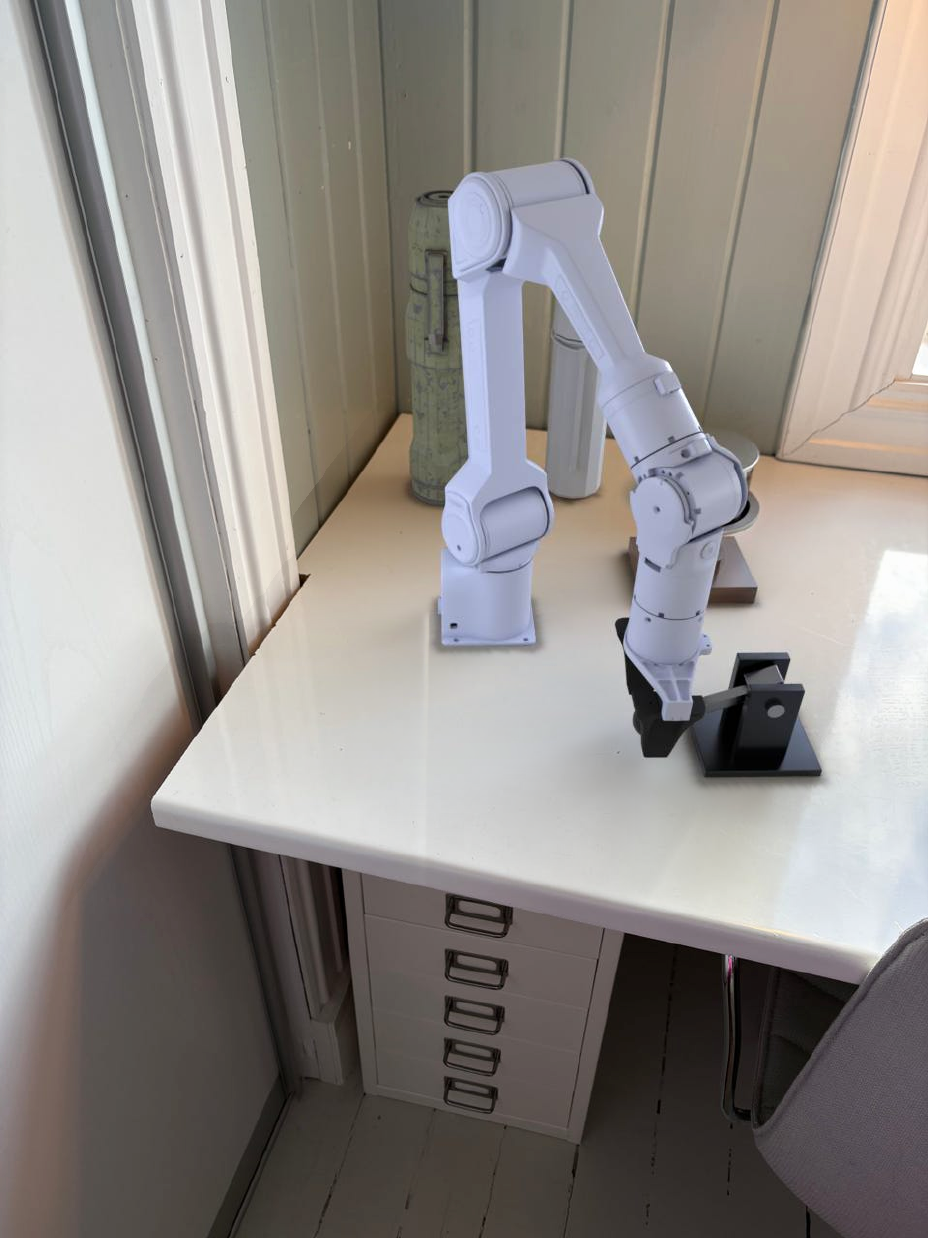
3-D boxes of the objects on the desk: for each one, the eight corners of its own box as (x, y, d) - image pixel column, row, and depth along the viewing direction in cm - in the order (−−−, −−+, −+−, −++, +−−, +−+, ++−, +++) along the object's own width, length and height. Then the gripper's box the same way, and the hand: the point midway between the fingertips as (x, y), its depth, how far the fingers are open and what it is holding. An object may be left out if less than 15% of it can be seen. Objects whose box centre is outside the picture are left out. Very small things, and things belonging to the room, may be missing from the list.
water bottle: (542, 471, 122) (555, 279, 107) (602, 476, 121) (624, 282, 106) (537, 507, 115) (550, 306, 99) (601, 512, 114) (624, 310, 99)
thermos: (481, 466, 123) (486, 182, 102) (478, 513, 114) (484, 210, 92) (414, 464, 123) (406, 180, 102) (406, 511, 114) (395, 209, 92)
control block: (642, 604, 99) (647, 574, 97) (627, 552, 107) (631, 523, 105) (753, 603, 99) (761, 573, 97) (730, 552, 107) (737, 522, 105)
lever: (641, 750, 81) (631, 726, 79) (635, 724, 83) (625, 700, 81) (791, 708, 78) (784, 682, 76) (780, 682, 80) (773, 656, 78)
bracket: (704, 779, 79) (722, 704, 74) (684, 715, 86) (700, 641, 80) (819, 778, 80) (846, 703, 74) (792, 714, 86) (814, 640, 81)
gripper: (744, 657, 67) (711, 785, 75) (700, 545, 78) (676, 667, 87) (647, 658, 67) (625, 785, 75) (617, 546, 78) (600, 667, 86)
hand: (647, 722), depth 81 cm, fingers open, 7 cm apart
